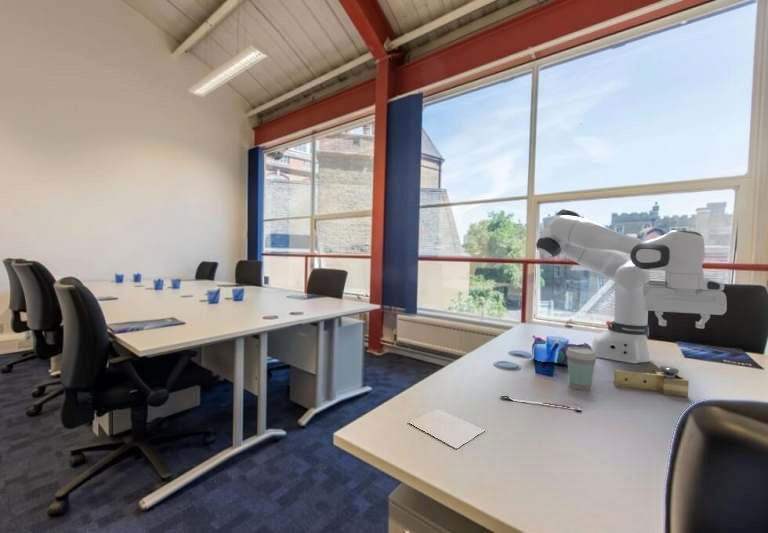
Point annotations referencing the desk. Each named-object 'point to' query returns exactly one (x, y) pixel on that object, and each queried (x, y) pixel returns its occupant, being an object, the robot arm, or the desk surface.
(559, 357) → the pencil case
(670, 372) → the hinge pin
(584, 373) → the coffee cup
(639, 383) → the hinge
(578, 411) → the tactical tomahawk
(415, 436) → the desk surface
